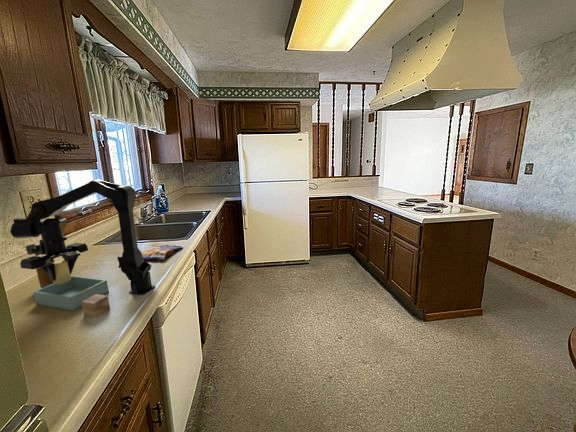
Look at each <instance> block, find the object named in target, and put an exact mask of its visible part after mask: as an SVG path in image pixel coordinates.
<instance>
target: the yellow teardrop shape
mask: <svg viewBox="0 0 576 432" xmlns="http://www.w3.org/2000/svg"><path fill="white" fill-rule="evenodd" d="M54 266H55V275H56V280H55V281H53V283H54V284H63V283H66V282H69V281H70V280H71V276H72V275H71V274H70V271H69V266H68V262H67V261H66V260H64V259H63V260H58V261H55V262H54Z"/></svg>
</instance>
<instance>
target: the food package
mask: <svg viewBox="0 0 576 432" xmlns="http://www.w3.org/2000/svg"><path fill="white" fill-rule="evenodd" d="M183 249H184V247H183V246H181V245H180V246H179V245H169V244H166V245H165V244H164V245H159V246H155V247H151V248H148V249H145V250H143V251H141V253H142V256H143V259H144V260H145V261H146V262H162V261H164V260H167V259H168V258H170V257H172V256H173V255H174V254H175V253H178V252H180V251H181V250H183Z"/></svg>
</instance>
